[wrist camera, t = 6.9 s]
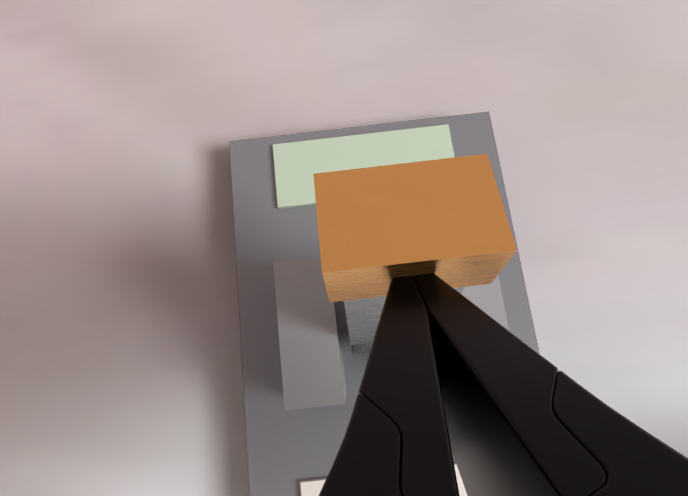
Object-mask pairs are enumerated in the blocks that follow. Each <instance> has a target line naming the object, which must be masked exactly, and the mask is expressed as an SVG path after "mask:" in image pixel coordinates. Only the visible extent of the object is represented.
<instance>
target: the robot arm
mask: <svg viewBox="0 0 688 496" xmlns="http://www.w3.org/2000/svg"><path fill="white" fill-rule="evenodd" d="M557 372H558V373H557ZM452 453H453V455H452ZM453 456H454V458H455V461H456V464H457V467H458V470H459V473H460V476H461V479H462V481H463V484H464V487H465V490H466V493H467V496H688V458H686V457H685V456H683V455H682V454H680V453H679V452H677V451H676V450H674V449H672V448H671V447H669V446H668V445H666V444H665V443H663V442H662V441H660V440H659V439H657V438H655V437H654V436H652V435H651V434H649V433H648V432H646V431H645V430H643V429H642V428H640V427H639V426H637V425H636V424H634V423H633V422H631V421H630V420H628V419H627V418H625V417H624V416H622V415H621V414H619V413H618V412H616V411H615V410H613V409H612V408H610V407H609V406H608V405H606V404H605V403H603V402H602V401H601V400H599V399H598V398H597V397H595V396H594V395H593V394H591V393H590V392H588V391H587V390H586V389H584V388H583V387H582V386H580V385H579V384H578V383H576V382H575V381H574V380H572V379H571V378H570V377H569V376H567V375H566V374H565V373H563V372H562V371H558V369H557V367H555V366H554V365H553V364H551V363H550V362H549V361H548V360H546V359H545V358H544V357H542V356H541V355H540V354H538V353H537V352H536V351H535V350H533V349H532V348H531V347H529V346H528V345H527V344H525V343H524V342H523V341H522V340H520V339H519V338H518V337H516V336H515V335H514V334H512V333H511V332H510V331H509V330H507V329H506V328H505V327H503V326H502V325H501V324H500V323H498V322H497V321H496V320H494V319H493V318H492V317H490V316H489V315H488V314H487V313H485V312H484V311H483V310H481V309H480V308H479V307H477V306H476V305H475V304H474V303H472V302H471V301H470V300H468V299H467V298H466V297H464V296H463V295H462V294H461V293H459V292H458V291H457V290H455V289H454V288H453V287H451V286H450V285H449V284H448V283H446V282H445V281H444V280H442V279H441V278H440V277H439V276H437V275H436V274H435V273H429V274H421V275H415V276H413V277H412V276H403V277H394V278H392V279H391V281H390V284H389V288H388V291H387V295H386V298H385V302H384V305H383V309H382V312H381V316H380V319H379V323H378V326H377V329H376V333H375V336H374V340H373V343H372V347H371V350H370V354H369V357H368V361H367V364H366V368H365V371H364V374H363V378H362V381H361V385H360V388H359V394H358V395H357V398H356V401H355V405H354V408H353V412H352V415H351V418H350V421H349V424H348V427H347V430H346V433H345V436H344V438H343V441H342V443H341V446H340V448H339V450H338V453H337V455H336V458H335V460H334V463H333V465H332V467H331V469H330V472H329V474H328V476H327V478H326V480H325V483H324V485H323V487H322V489H321V491H320V494H319V496H460V495H459V489H458V483H457V478H456V472H455V466H454V460H453Z"/></svg>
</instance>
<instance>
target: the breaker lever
mask: <svg viewBox="0 0 688 496" xmlns="http://www.w3.org/2000/svg"><path fill="white" fill-rule="evenodd" d="M313 177H314V188H315V199H316V210H317V222H318V233H319V244H320V255H321V266H322V275H323V278H324V282H325V286H326V290H327V294H328V298H329V302H338V301H344V306H345V312H346V319H347V325H348V331H349V338H350V344H351V352H352V354H359V353H368V352H370V350H371V347H372V343H373V340H374V336H375V333H376V329H377V326H378V323H379V319H380V316H381V312H382V309H383V305H384V302H385V298H386V295H387V291H388V288H389V284H390V281H391V279H392V278H394V277H403V276H412V277H413V276H415V275H421V274H429V273H435V274H436V275H437V276H439V277H440V278H441V279H442V280H444V281H445V282H446V283H448V284H449V285H450V286H451V287H453V288H454V289H455V290H457V291H458V292H459V293H462V291H463V290H464V288H465V287H468V286H477V285H485V284H491V283H492V282H493V280H494V279H495V278H496V276H497V275H498V274H499V273H500V271H501V270H502V269H503V268H504V266H505V265H506V264H507V263H508V261H509V260H510V259H511V257H512V256H513V255H514V254H515V252H516V251H517V249H516V245H515V242H514V239H513V236H512V232H511V229H510V226H509V223H508V219H507V216H506V213H505V210H504V206H503V203H502V200H501V197H500V193H499V190H498V187H497V184H496V180H495V177H494V174H493V171H492V167H491V164H490V161H489V158H488V154H480V155H471V156H463V157H454V158H445V159H437V160H428V161H419V162H411V163H402V164H393V165H384V166H376V167H367V168H358V169H350V170H341V171H332V172H324V173H315V174H313Z"/></svg>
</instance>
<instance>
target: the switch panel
mask: <svg viewBox="0 0 688 496" xmlns="http://www.w3.org/2000/svg"><path fill="white" fill-rule="evenodd" d="M229 144H230V161H231V179H232V196H233V214H234V231H235V249H236V266H237V283H238V301H239V318H240V336H241V353H242V371H243V388H244V405H245V423H246V440H247V458H248V475H249V493H250V496H319V494H320V491H321V489H322V487H323V485H324V483H325V480H326V478H327V476H328V474H329V472H330V469H331V467H332V465H333V463H334V460H335V458H336V455H337V453H338V450H339V448H340V446H341V443H342V441H343V438H344V436H345V433H346V430H347V427H348V424H349V421H350V418H351V415H352V412H353V408H354V405H355V401H356V398H357V395H358V394H359V388H360V385H361V381H362V378H363V374H364V371H365V368H366V364H367V361H368V357H369V354H370V352H368V353H359V354H352V352H351V344H350V338H349V331H348V325H347V319H346V312H345V306H344V301H338V302H329V298H328V294H327V290H326V286H325V282H324V278H323V275H322V266H321V255H320V244H319V233H318V222H317V210H316V199H315V188H314V177H313V174H315V173H324V172H332V171H341V170H350V169H358V168H367V167H376V166H384V165H393V164H402V163H411V162H419V161H428V160H437V159H445V158H454V157H463V156H471V155H480V154H488V158H489V161H490V164H491V167H492V171H493V174H494V177H495V180H496V184H497V187H498V190H499V193H500V197H501V200H502V203H503V206H504V210H505V213H506V216H507V219H508V223H509V226H510V229H511V232H512V236H513V239H514V242H515V245H516V249H517V251H516V252H515V254H514V255H513V256H512V257H511V259H510V260H509V261H508V263H507V264H506V265H505V266H504V268H503V269H502V270H501V271H500V273H499V274H498V275H497V276H496V278H495V279H494V280H493V282H492V283H491V284H485V285H477V286H468V287H465V288H464V290H463V291H462V293H461V294H462V295H463V296H464V297H466V298H467V299H468V300H470V301H471V302H472V303H474V304H475V305H476V306H477V307H479V308H480V309H481V310H483V311H484V312H485V313H487V314H488V315H489V316H490V317H492V318H493V319H494V320H496V321H497V322H498V323H500V324H501V325H502V326H503V327H505V328H506V329H507V330H509V331H510V332H511V333H512V334H514V335H515V336H516V337H518V338H519V339H520V340H522V341H523V342H524V343H525V344H527V345H528V346H529V347H531V348H532V349H533V350H535V351H536V352H537V353H538V354H539V349H538V344H537V339H536V335H535V330H534V325H533V320H532V315H531V311H530V306H529V301H528V296H527V291H526V287H525V282H524V277H523V272H522V267H521V263H520V258H519V253H518V248H517V244H516V239H515V234H514V229H513V224H512V220H511V215H510V210H509V205H508V200H507V196H506V191H505V186H504V181H503V176H502V172H501V167H500V162H499V157H498V153H497V148H496V143H495V138H494V133H493V129H492V124H491V119H490V114H489V112H481V113H473V114H464V115H455V116H447V117H438V118H429V119H421V120H412V121H403V122H395V123H386V124H377V125H368V126H360V127H351V128H342V129H334V130H325V131H316V132H308V133H299V134H290V135H281V136H273V137H264V138H255V139H247V140H238V141H229ZM452 455H453V453H452ZM453 460H454V466H455V472H456V478H457V483H458V489H459V495H460V496H467V493H466V490H465V487H464V484H463V481H462V479H461V476H460V473H459V470H458V467H457V464H456V461H455V458H454V456H453Z"/></svg>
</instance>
